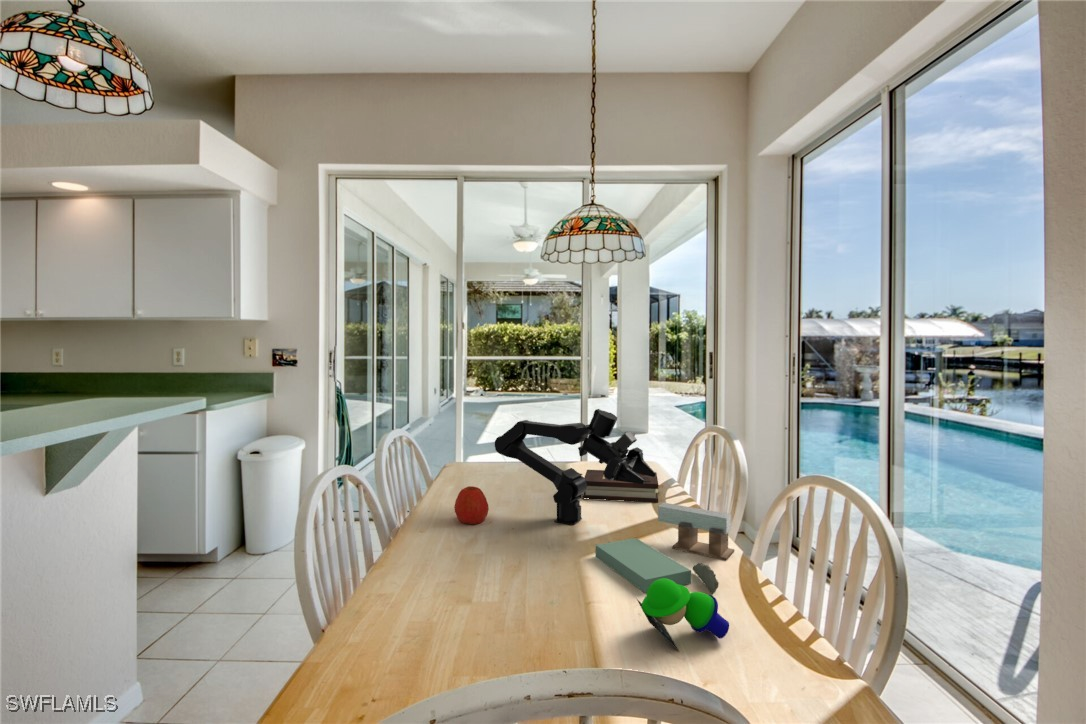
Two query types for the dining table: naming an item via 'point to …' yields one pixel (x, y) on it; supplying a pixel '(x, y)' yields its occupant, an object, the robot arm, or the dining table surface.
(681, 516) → the rail
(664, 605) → the toy
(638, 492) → the decorative book
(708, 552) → the rack
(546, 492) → the dining table surface
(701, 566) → the stone
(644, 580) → the green rectangular slab
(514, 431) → the robot arm
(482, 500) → the apple
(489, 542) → the dining table surface
